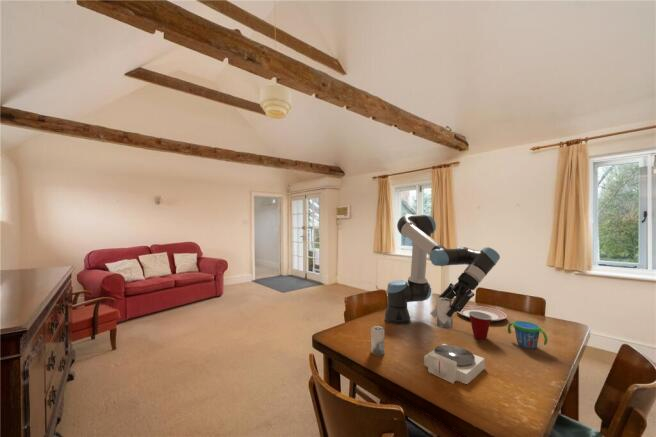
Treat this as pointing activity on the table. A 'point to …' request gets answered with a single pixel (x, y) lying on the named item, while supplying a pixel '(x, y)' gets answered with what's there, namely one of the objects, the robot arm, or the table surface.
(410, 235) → the robot arm
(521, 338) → the snack cup
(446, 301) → the silver metal cylinder
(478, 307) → the dinner plate
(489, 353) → the table surface
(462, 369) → the scale
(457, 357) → the scale pan
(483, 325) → the plastic cup
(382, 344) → the cylinder
